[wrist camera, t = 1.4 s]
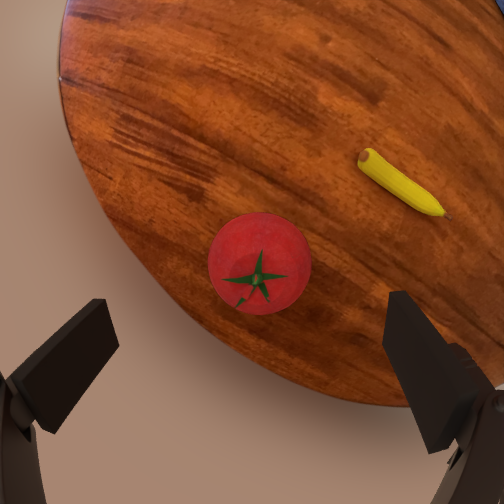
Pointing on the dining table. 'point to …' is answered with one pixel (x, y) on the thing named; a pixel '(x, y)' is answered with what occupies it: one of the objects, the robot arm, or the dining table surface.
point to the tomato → (259, 263)
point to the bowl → (501, 5)
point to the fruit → (399, 184)
